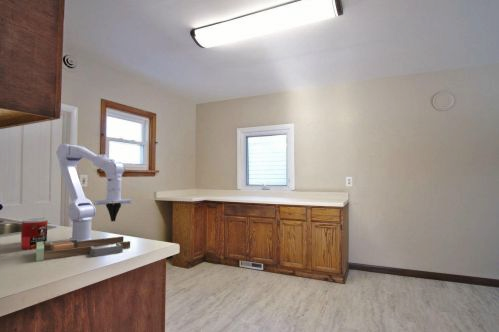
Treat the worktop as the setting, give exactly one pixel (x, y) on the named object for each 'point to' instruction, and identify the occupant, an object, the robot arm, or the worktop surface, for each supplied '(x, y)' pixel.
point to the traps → (98, 250)
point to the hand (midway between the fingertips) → (113, 221)
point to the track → (83, 247)
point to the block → (62, 245)
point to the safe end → (40, 251)
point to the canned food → (32, 232)
